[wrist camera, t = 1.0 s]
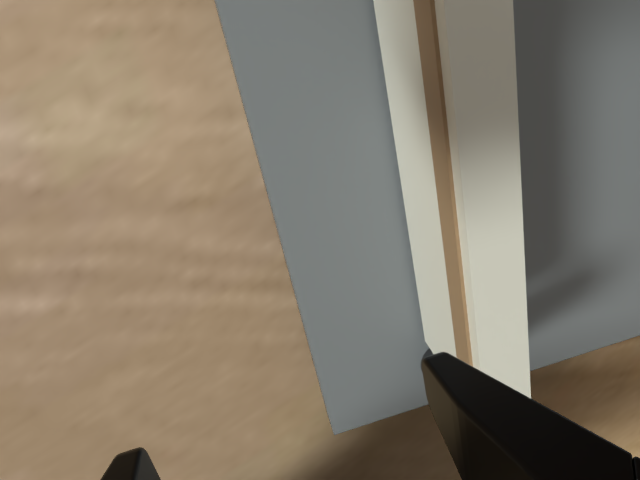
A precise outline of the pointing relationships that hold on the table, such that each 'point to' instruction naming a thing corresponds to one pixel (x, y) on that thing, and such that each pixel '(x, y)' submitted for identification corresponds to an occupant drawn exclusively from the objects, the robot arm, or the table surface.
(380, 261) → the board
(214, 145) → the table surface
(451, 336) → the gate
